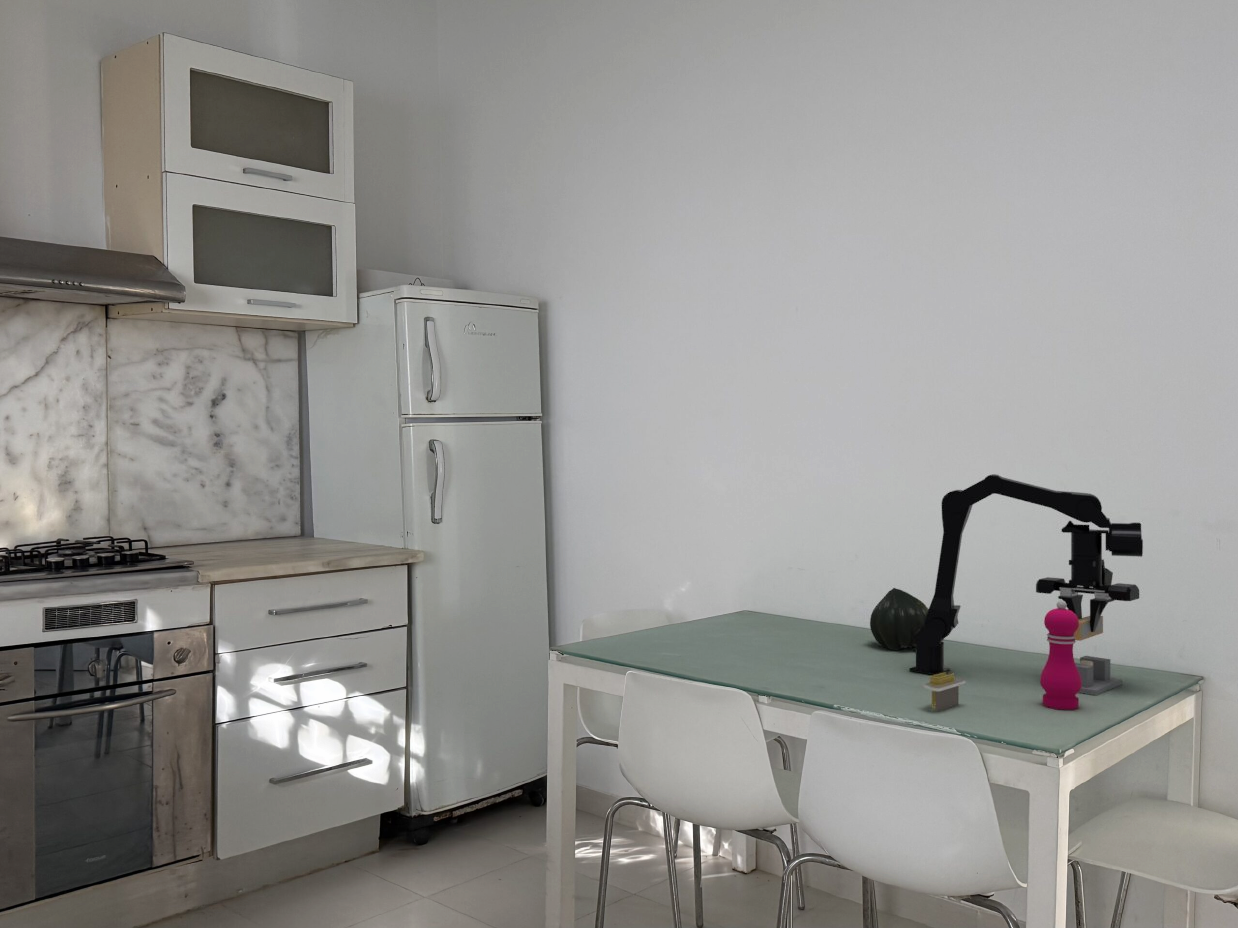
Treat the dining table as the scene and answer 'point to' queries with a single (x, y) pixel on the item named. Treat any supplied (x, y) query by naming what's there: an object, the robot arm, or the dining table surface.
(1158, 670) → the dining table surface
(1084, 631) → the tan wooden bar
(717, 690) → the dining table surface
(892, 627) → the squash
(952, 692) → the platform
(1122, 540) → the robot arm
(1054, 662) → the pepper mill
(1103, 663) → the display stand
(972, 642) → the dining table surface
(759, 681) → the dining table surface
